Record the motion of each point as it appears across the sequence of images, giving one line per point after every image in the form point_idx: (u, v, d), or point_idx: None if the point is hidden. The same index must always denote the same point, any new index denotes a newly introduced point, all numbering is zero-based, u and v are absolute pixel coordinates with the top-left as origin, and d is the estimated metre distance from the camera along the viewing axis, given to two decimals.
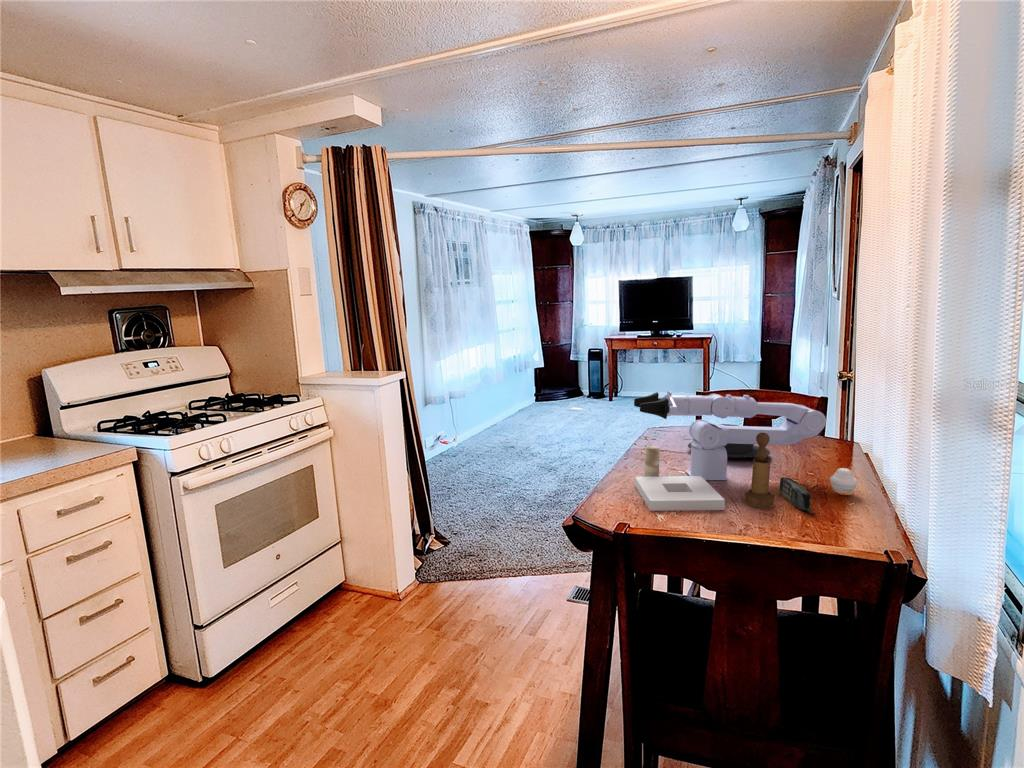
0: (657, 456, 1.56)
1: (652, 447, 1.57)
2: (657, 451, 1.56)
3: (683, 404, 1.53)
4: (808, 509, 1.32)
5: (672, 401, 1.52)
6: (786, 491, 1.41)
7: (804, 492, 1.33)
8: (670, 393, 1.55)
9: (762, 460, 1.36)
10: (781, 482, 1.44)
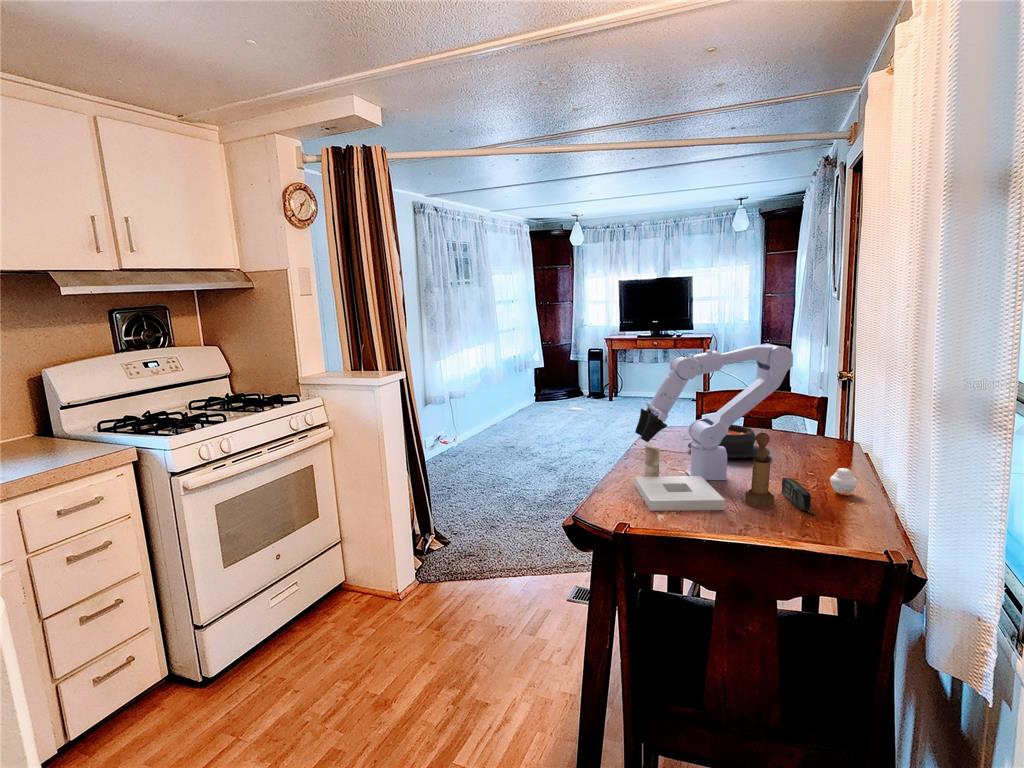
0: (657, 456, 1.56)
1: (652, 447, 1.57)
2: (657, 451, 1.56)
3: (664, 400, 1.53)
4: (808, 509, 1.32)
5: (655, 410, 1.52)
6: (787, 491, 1.41)
7: (804, 492, 1.33)
8: (647, 404, 1.55)
9: (762, 460, 1.36)
10: (783, 482, 1.44)
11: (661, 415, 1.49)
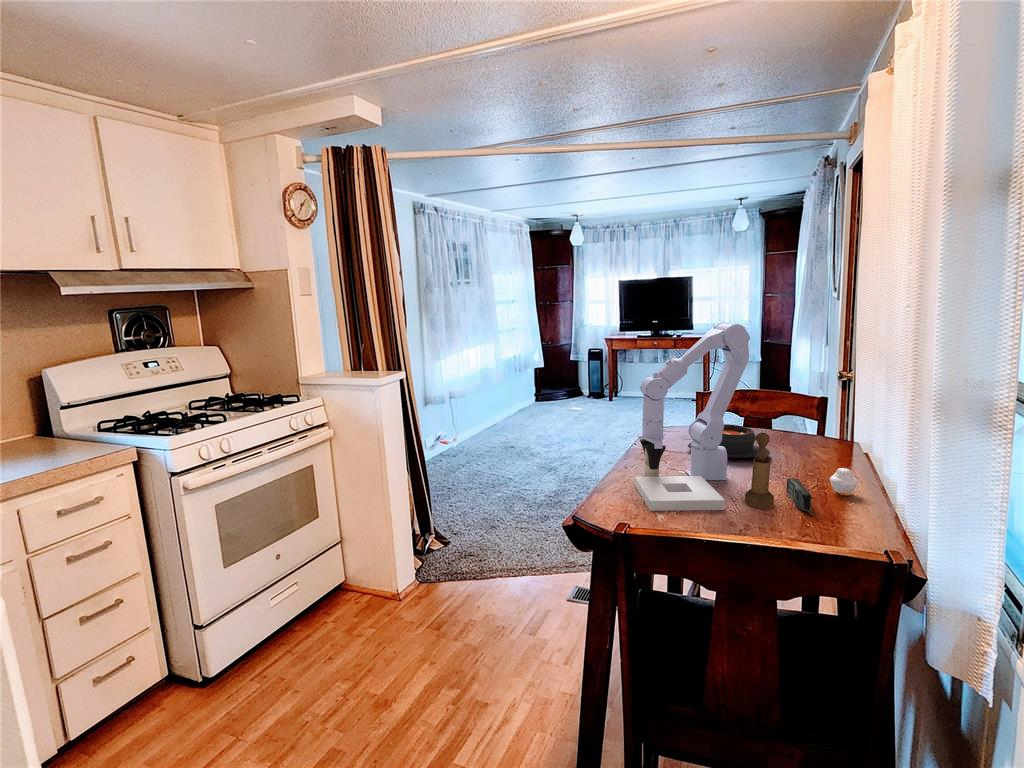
0: None
1: None
2: None
3: (652, 427, 1.53)
4: (808, 510, 1.32)
5: (649, 440, 1.53)
6: (791, 492, 1.41)
7: (805, 493, 1.32)
8: (640, 437, 1.56)
9: (762, 460, 1.36)
10: (787, 483, 1.43)
11: (656, 444, 1.50)
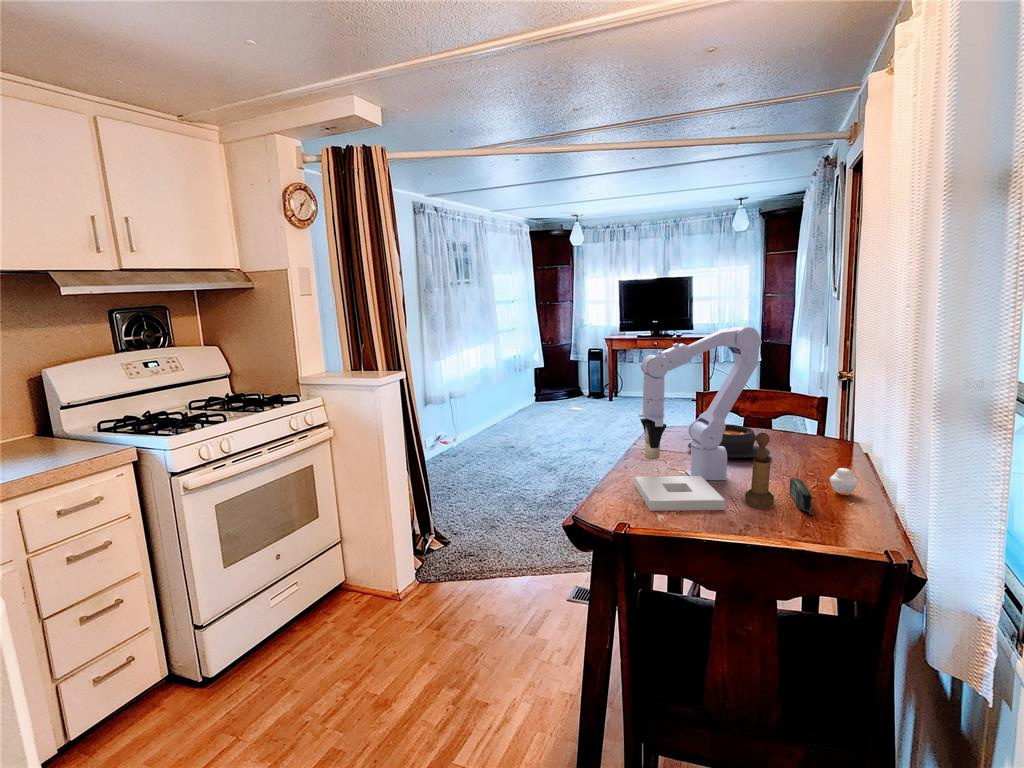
0: None
1: None
2: None
3: (653, 405, 1.52)
4: (808, 510, 1.31)
5: (649, 418, 1.52)
6: (793, 492, 1.40)
7: (805, 493, 1.32)
8: (641, 415, 1.55)
9: (762, 460, 1.36)
10: (790, 483, 1.43)
11: (657, 422, 1.49)
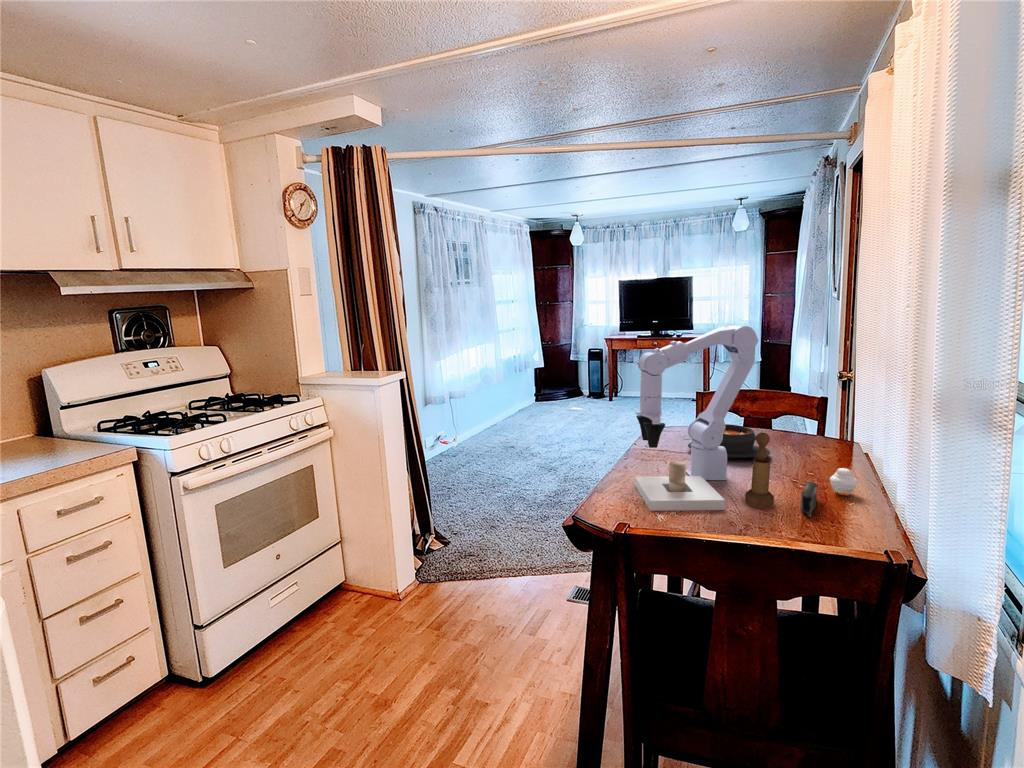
0: (683, 473, 1.41)
1: (678, 463, 1.43)
2: (683, 467, 1.41)
3: (650, 403, 1.51)
4: (807, 512, 1.30)
5: (647, 416, 1.51)
6: None
7: (806, 495, 1.31)
8: (638, 413, 1.54)
9: (762, 460, 1.36)
10: None
11: (654, 420, 1.48)
